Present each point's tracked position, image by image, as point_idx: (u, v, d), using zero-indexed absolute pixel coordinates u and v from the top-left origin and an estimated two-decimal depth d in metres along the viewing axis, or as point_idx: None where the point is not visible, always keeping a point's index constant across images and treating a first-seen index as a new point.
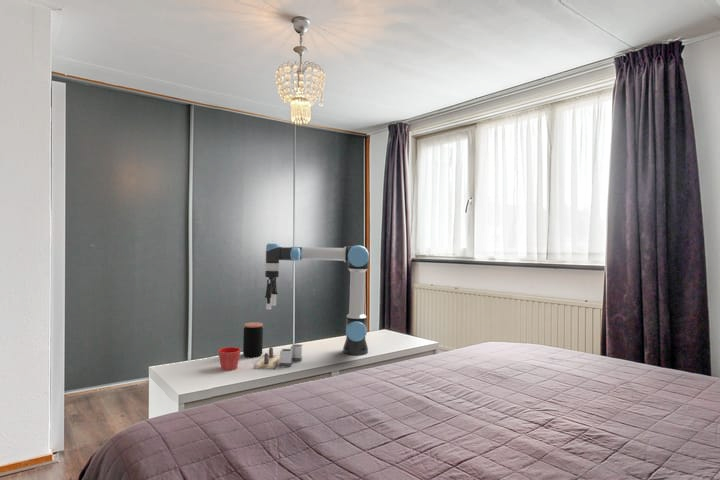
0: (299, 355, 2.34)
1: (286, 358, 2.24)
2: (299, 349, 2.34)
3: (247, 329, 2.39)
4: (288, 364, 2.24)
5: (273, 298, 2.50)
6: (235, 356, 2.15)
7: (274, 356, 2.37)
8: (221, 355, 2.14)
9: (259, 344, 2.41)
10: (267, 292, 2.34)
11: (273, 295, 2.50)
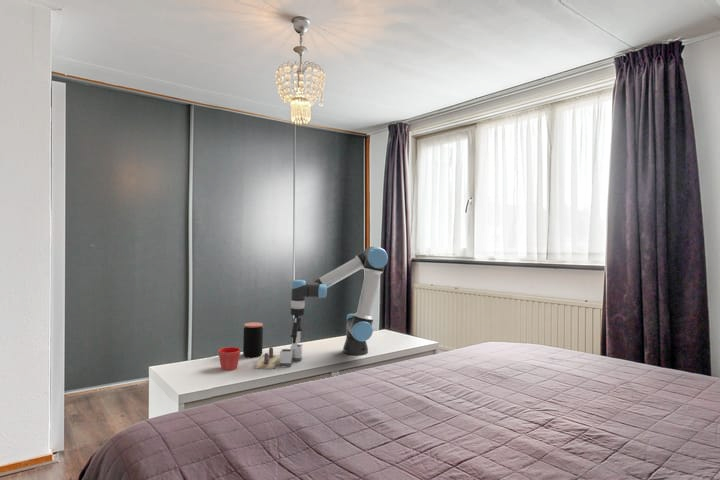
0: (299, 355, 2.34)
1: (286, 358, 2.24)
2: (299, 349, 2.34)
3: (247, 329, 2.39)
4: (288, 364, 2.24)
5: (297, 335, 2.43)
6: (235, 356, 2.15)
7: (274, 356, 2.37)
8: (221, 355, 2.14)
9: (259, 344, 2.41)
10: (293, 332, 2.27)
11: (297, 332, 2.43)
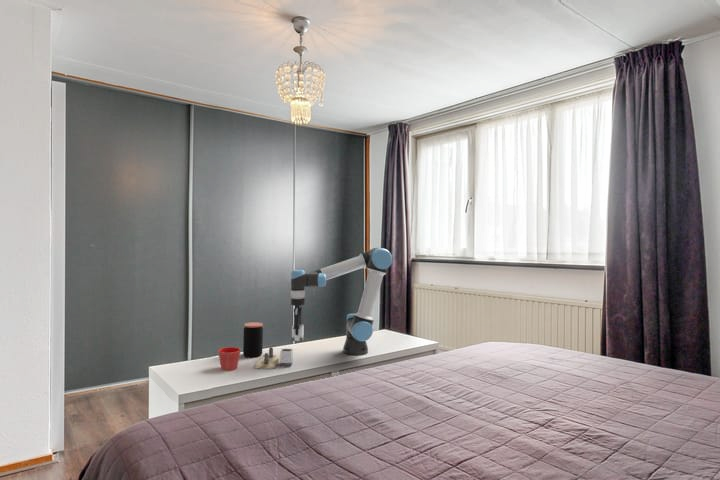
0: (300, 335, 2.34)
1: (286, 358, 2.24)
2: (300, 329, 2.34)
3: (247, 329, 2.39)
4: (288, 364, 2.24)
5: None
6: (235, 356, 2.15)
7: (274, 356, 2.37)
8: (221, 355, 2.14)
9: (259, 344, 2.41)
10: (295, 324, 2.30)
11: None
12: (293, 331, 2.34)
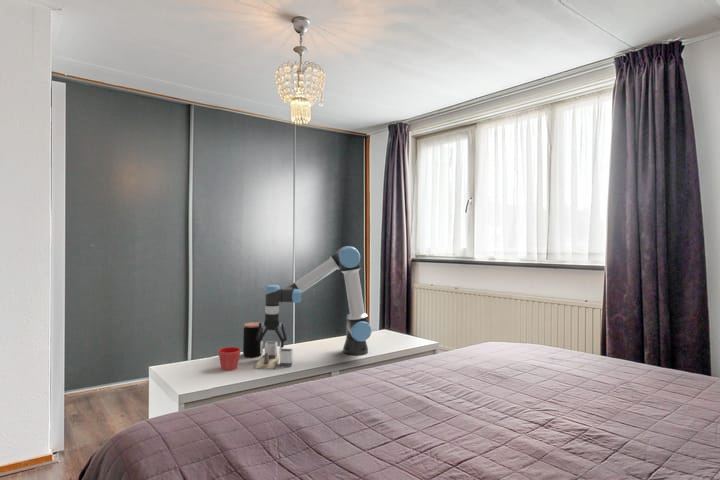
0: None
1: (286, 358, 2.24)
2: None
3: (247, 329, 2.39)
4: (288, 364, 2.24)
5: (280, 345, 2.36)
6: (235, 356, 2.15)
7: None
8: (221, 355, 2.14)
9: None
10: (257, 335, 2.36)
11: (280, 342, 2.36)
12: None
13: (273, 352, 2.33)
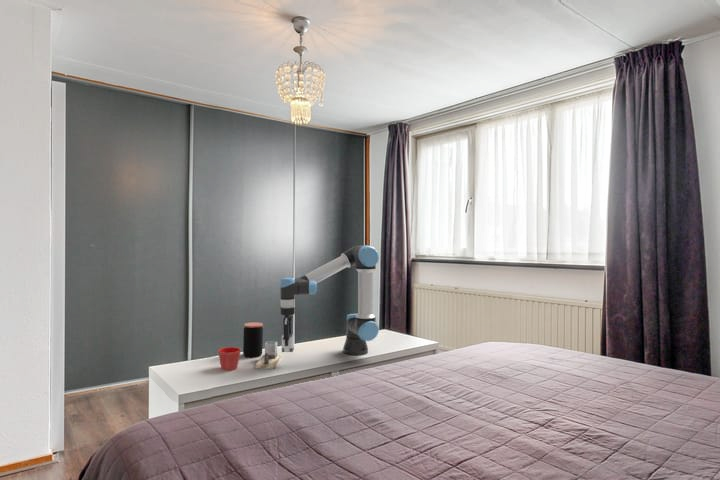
0: None
1: None
2: None
3: (247, 329, 2.39)
4: (290, 349, 2.24)
5: None
6: (235, 357, 2.15)
7: None
8: (221, 355, 2.14)
9: (259, 344, 2.41)
10: (285, 335, 2.20)
11: None
12: None
13: (273, 352, 2.33)
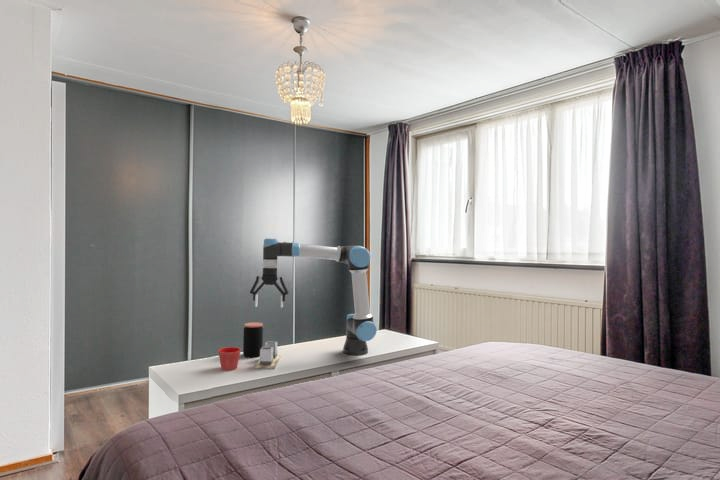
0: None
1: None
2: None
3: (247, 329, 2.39)
4: None
5: None
6: (235, 356, 2.15)
7: None
8: (221, 355, 2.14)
9: (259, 344, 2.41)
10: None
11: None
12: None
13: (273, 352, 2.33)
